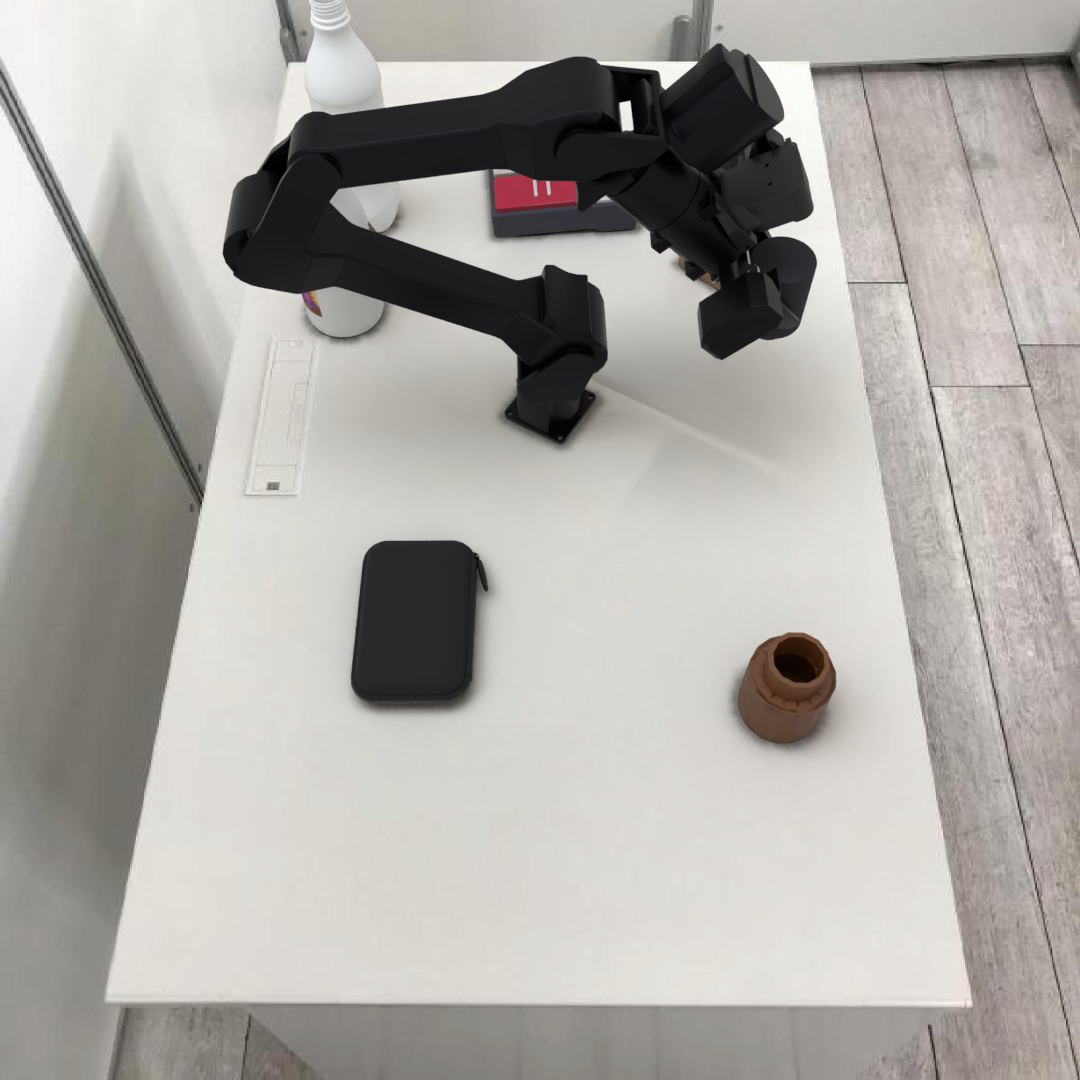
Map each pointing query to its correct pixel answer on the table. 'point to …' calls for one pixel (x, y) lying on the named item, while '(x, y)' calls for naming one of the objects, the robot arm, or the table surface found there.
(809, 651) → the bottle
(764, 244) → the bung
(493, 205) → the calculator
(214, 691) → the table surface
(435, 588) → the carrying case
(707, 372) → the table surface
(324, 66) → the water bottle
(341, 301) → the milk bottle
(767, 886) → the table surface
